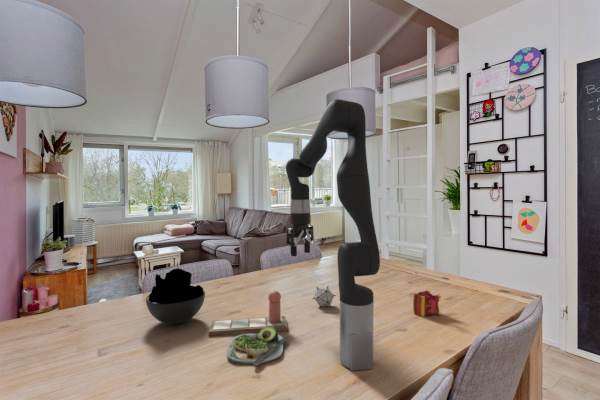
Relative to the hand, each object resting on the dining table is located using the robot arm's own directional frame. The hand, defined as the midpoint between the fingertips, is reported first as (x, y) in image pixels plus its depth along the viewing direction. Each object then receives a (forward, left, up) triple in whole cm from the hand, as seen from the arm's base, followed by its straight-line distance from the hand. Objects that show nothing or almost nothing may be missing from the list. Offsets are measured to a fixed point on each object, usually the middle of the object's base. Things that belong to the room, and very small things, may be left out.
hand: (300, 254), depth 125 cm
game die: (+7, -10, -24) cm, 27 cm away
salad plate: (-24, +17, -24) cm, 38 cm away
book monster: (-9, -47, -24) cm, 54 cm away
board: (-9, +20, -23) cm, 32 cm away
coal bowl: (0, +46, -23) cm, 51 cm away
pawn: (-9, +11, -22) cm, 26 cm away
